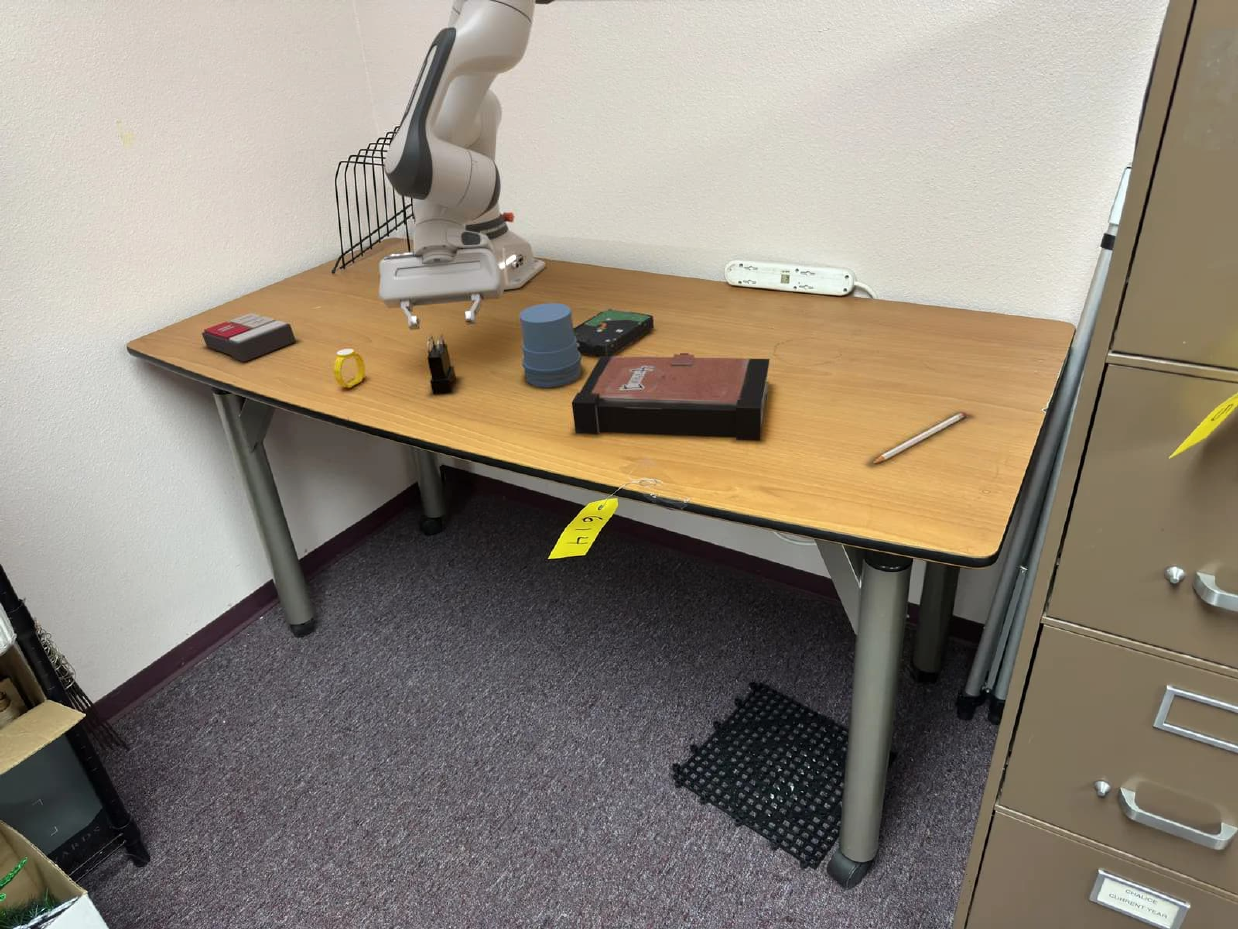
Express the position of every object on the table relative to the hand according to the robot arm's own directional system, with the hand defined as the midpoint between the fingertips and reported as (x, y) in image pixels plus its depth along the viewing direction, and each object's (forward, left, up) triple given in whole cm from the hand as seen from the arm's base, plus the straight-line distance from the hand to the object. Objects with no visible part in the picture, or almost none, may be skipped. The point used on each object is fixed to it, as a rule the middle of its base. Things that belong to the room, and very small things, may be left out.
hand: (442, 325), depth 134 cm
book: (-3, +41, -9) cm, 42 cm away
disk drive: (-22, +18, -9) cm, 30 cm away
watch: (+9, -14, -9) cm, 19 cm away
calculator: (+3, -48, -9) cm, 49 cm away
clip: (+4, +2, -9) cm, 10 cm away
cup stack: (-6, +17, -9) cm, 20 cm away
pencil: (-6, +75, -9) cm, 76 cm away
